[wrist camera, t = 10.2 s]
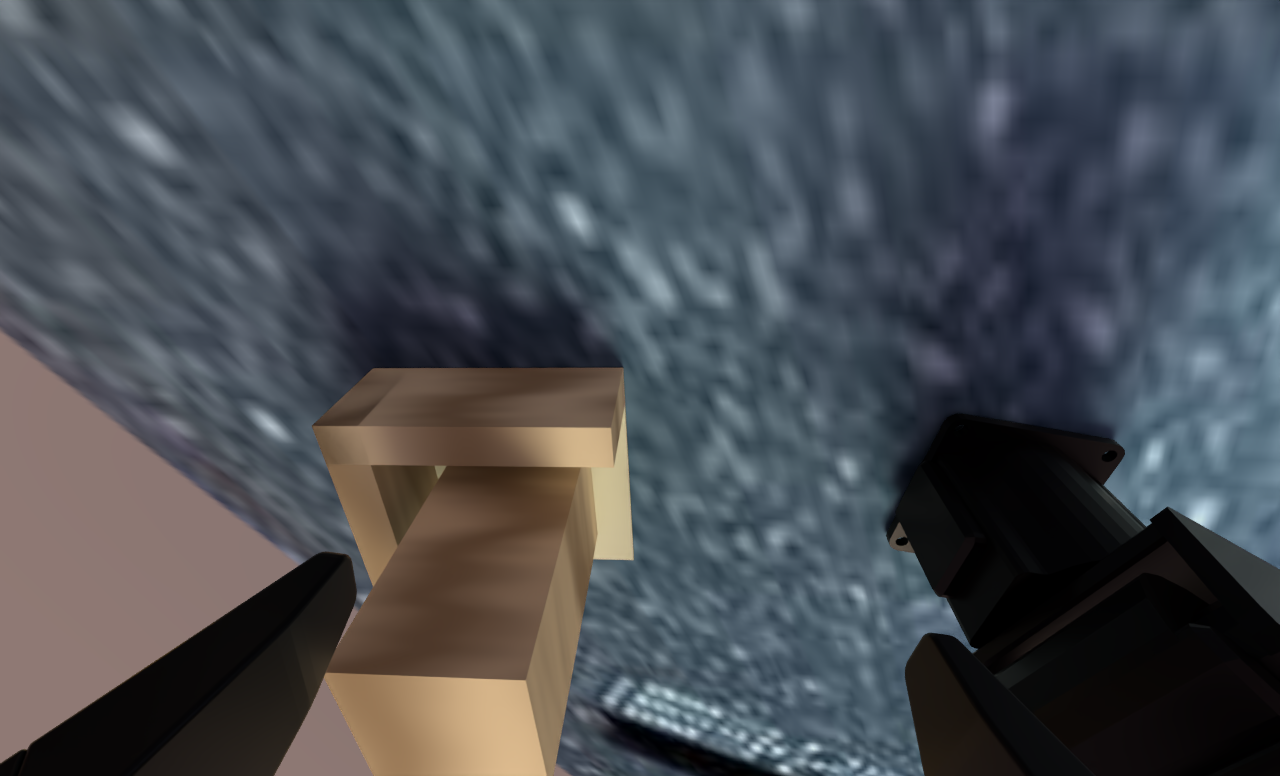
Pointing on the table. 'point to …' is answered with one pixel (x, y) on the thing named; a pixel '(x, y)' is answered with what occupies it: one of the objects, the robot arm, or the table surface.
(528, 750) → the maple block
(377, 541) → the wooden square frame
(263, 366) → the table surface
